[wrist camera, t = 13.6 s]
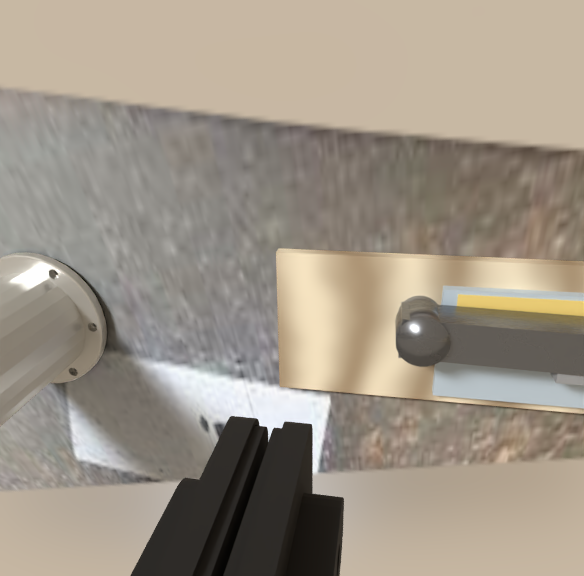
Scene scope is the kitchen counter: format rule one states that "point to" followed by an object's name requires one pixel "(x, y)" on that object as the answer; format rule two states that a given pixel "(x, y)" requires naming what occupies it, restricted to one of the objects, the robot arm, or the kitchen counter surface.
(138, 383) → the kitchen counter surface
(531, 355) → the latch bar
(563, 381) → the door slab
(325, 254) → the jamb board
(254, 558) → the robot arm
